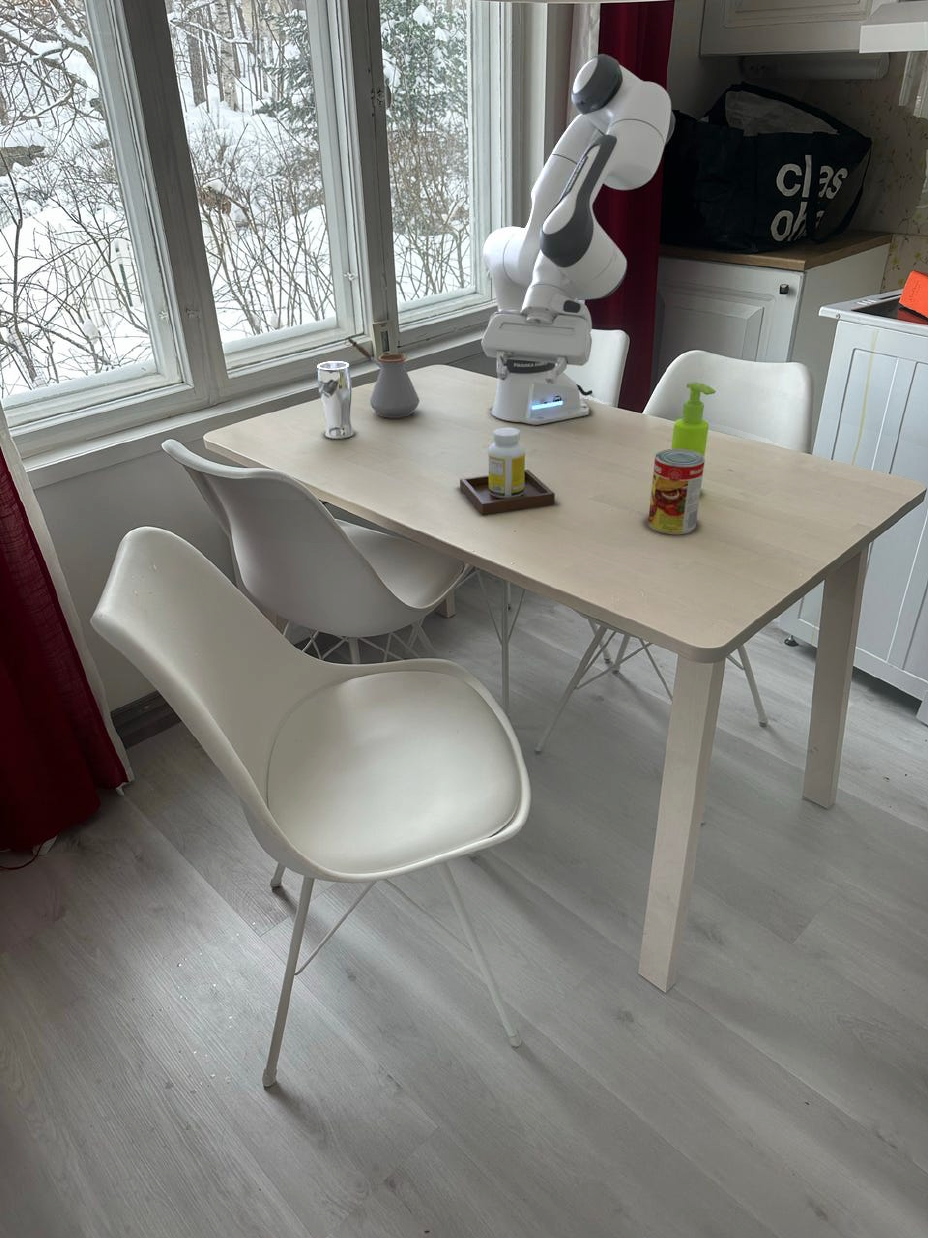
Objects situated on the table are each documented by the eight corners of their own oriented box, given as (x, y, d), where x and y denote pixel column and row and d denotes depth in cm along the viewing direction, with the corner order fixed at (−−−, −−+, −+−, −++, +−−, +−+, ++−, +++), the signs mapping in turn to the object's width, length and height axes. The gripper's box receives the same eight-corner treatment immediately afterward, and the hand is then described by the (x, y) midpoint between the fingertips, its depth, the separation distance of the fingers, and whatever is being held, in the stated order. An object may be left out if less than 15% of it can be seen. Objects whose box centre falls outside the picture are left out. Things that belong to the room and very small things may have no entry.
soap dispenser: (684, 503, 153) (698, 391, 142) (659, 490, 158) (671, 381, 148) (709, 497, 155) (725, 386, 145) (684, 484, 160) (698, 377, 150)
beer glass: (353, 439, 184) (347, 369, 177) (320, 439, 185) (313, 369, 177) (357, 429, 190) (351, 360, 183) (326, 429, 191) (319, 361, 183)
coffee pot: (430, 412, 200) (427, 346, 193) (393, 423, 193) (389, 356, 186) (369, 394, 213) (365, 332, 205) (333, 405, 206) (327, 341, 198)
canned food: (657, 511, 150) (664, 445, 144) (701, 520, 146) (710, 453, 140) (641, 528, 144) (648, 460, 138) (687, 538, 140) (696, 468, 134)
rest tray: (527, 479, 163) (528, 469, 162) (554, 504, 153) (554, 493, 152) (460, 489, 160) (459, 478, 159) (482, 515, 150) (482, 503, 148)
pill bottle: (527, 488, 158) (529, 427, 152) (519, 502, 153) (520, 439, 147) (494, 485, 160) (494, 424, 154) (484, 498, 154) (483, 435, 149)
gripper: (488, 298, 159) (468, 364, 157) (595, 306, 152) (575, 375, 150) (497, 318, 165) (478, 382, 163) (600, 327, 158) (581, 394, 155)
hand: (525, 379), depth 156 cm, fingers open, 8 cm apart
